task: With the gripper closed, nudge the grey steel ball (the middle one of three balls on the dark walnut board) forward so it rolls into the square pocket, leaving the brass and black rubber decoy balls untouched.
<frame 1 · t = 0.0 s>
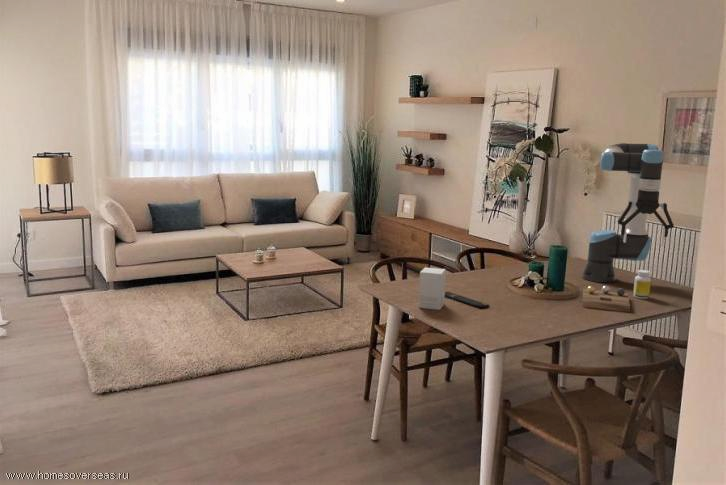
hand: (643, 243, 252), 28 cm above the table, fingers open, 13 cm apart
board: (605, 302, 269), on the table
steel ball: (605, 289, 274), point 4 cm above the table, touching board
rubber ball: (620, 291, 271), point 4 cm above the table, touching board
pill bottle: (640, 297, 278), on the table
supplement box: (431, 306, 260), on the table
remote control: (463, 302, 268), on the table
brass ball: (590, 289, 273), point 4 cm above the table, touching board
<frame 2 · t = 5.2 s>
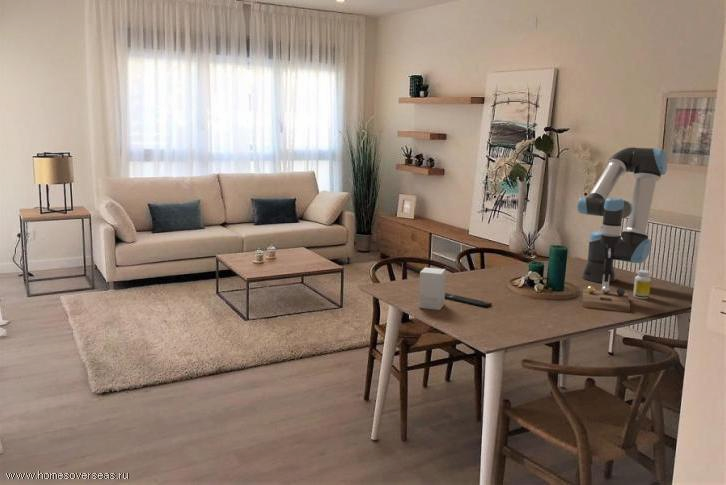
hand: (605, 288, 275), 4 cm above the table, fingers closed
steel ball: (605, 289, 273), point 4 cm above the table, tilted 27°, touching board
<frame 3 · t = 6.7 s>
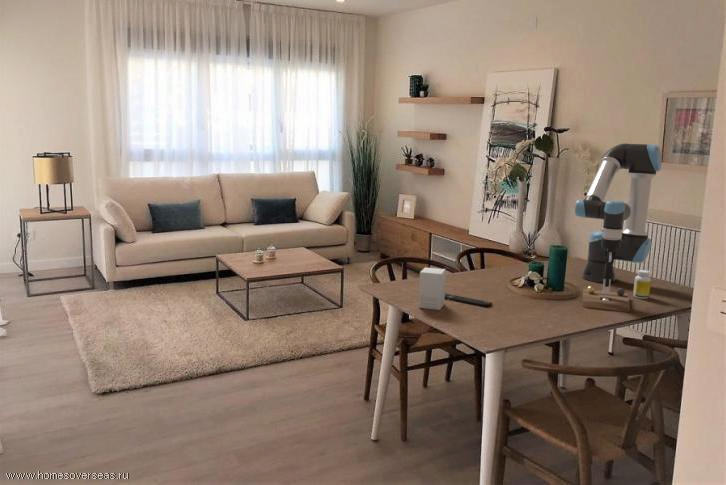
hand: (605, 293, 268), 4 cm above the table, fingers closed
steel ball: (605, 301, 265), point 2 cm above the table, tilted 50°
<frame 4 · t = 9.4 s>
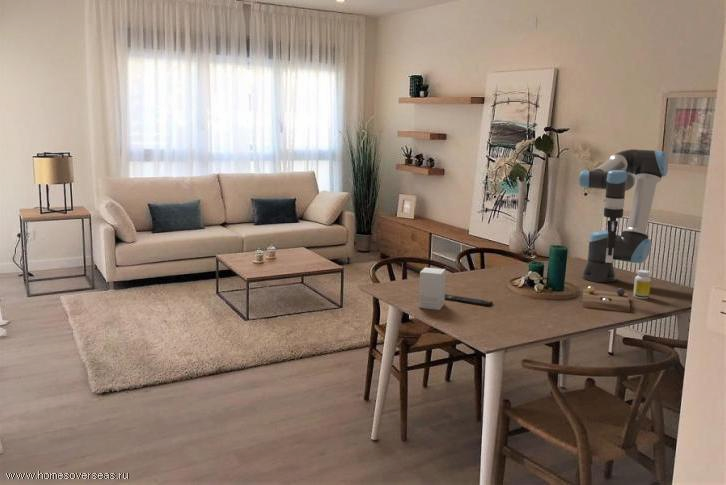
hand: (608, 262, 272), 16 cm above the table, fingers closed
steel ball: (605, 301, 265), point 2 cm above the table, tilted 37°
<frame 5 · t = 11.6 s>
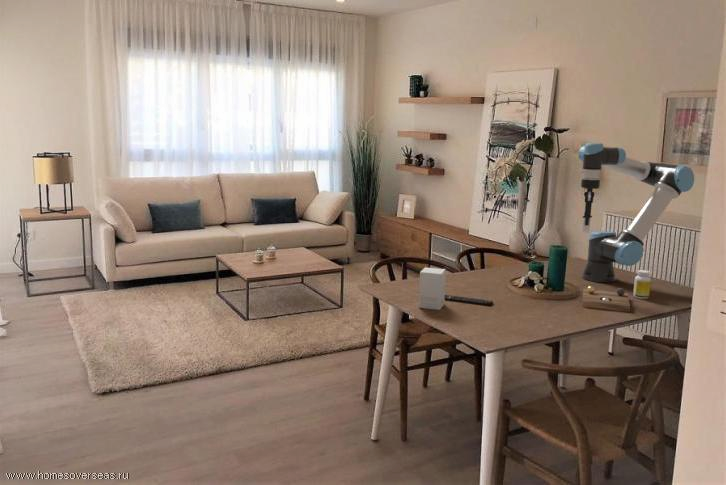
hand: (585, 232, 283), 26 cm above the table, fingers closed
steel ball: (605, 301, 265), point 2 cm above the table, tilted 27°
at the end: steel ball 0.1 cm from the target spot on the board, point 1.6 cm above the board's base; brass ball moved 0.0 cm from its start; rubber ball moved 0.0 cm from its start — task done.
